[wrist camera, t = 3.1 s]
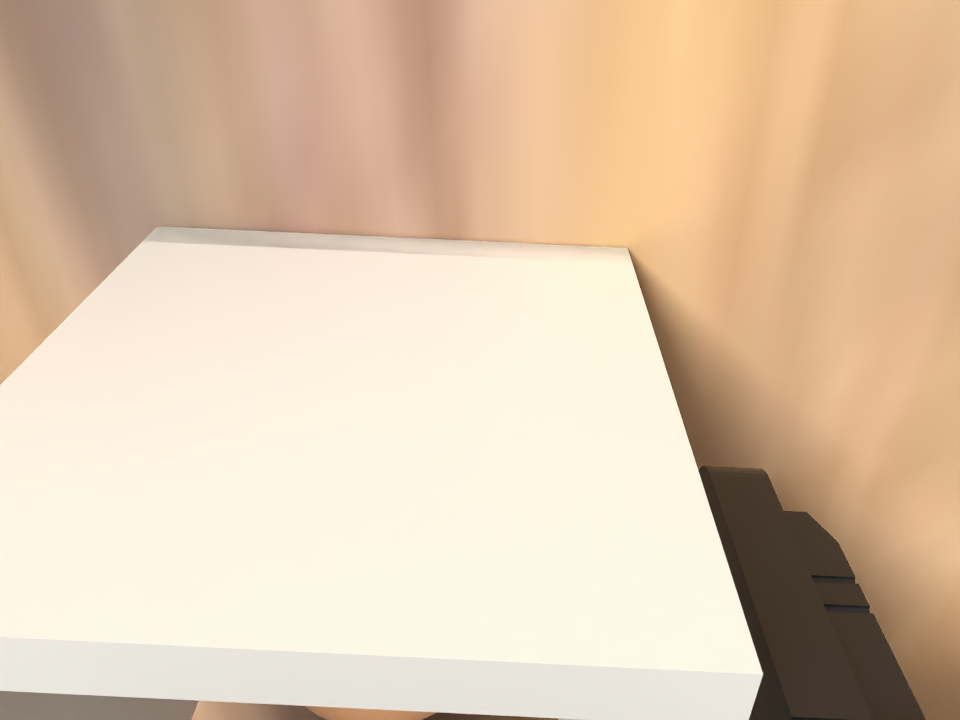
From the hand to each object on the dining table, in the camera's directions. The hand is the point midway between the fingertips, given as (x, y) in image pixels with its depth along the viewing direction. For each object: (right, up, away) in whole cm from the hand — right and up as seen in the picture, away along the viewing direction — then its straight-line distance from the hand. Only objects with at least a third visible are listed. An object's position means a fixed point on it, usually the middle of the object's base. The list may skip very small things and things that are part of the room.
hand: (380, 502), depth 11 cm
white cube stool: (0, +1, +1) cm, 2 cm away
